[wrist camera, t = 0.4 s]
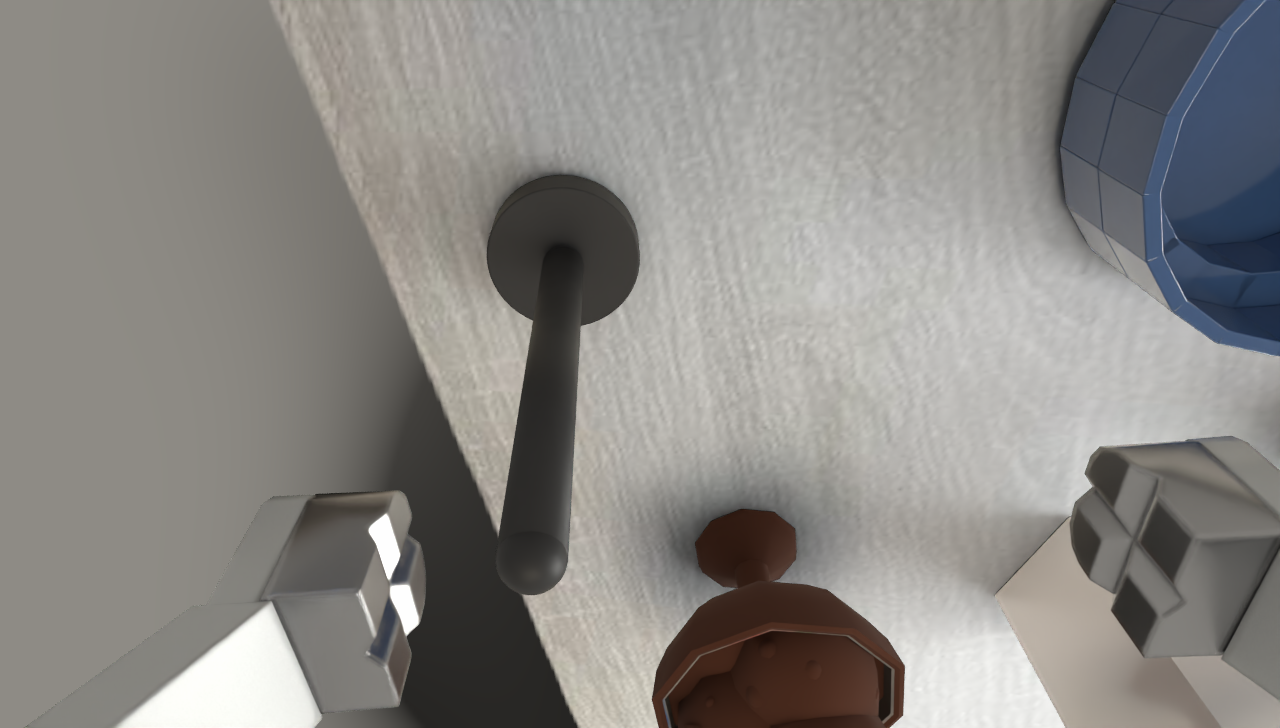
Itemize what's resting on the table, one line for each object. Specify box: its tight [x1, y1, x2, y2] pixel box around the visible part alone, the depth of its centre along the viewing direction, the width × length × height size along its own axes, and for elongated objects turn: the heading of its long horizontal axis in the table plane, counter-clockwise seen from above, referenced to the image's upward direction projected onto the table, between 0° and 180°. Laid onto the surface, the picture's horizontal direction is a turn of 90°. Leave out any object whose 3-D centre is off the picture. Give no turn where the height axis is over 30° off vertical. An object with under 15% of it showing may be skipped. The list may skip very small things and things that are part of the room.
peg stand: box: [487, 175, 640, 595], centre depth 24 cm, size 6×6×18 cm
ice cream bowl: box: [652, 509, 905, 728], centre depth 35 cm, size 11×11×15 cm
